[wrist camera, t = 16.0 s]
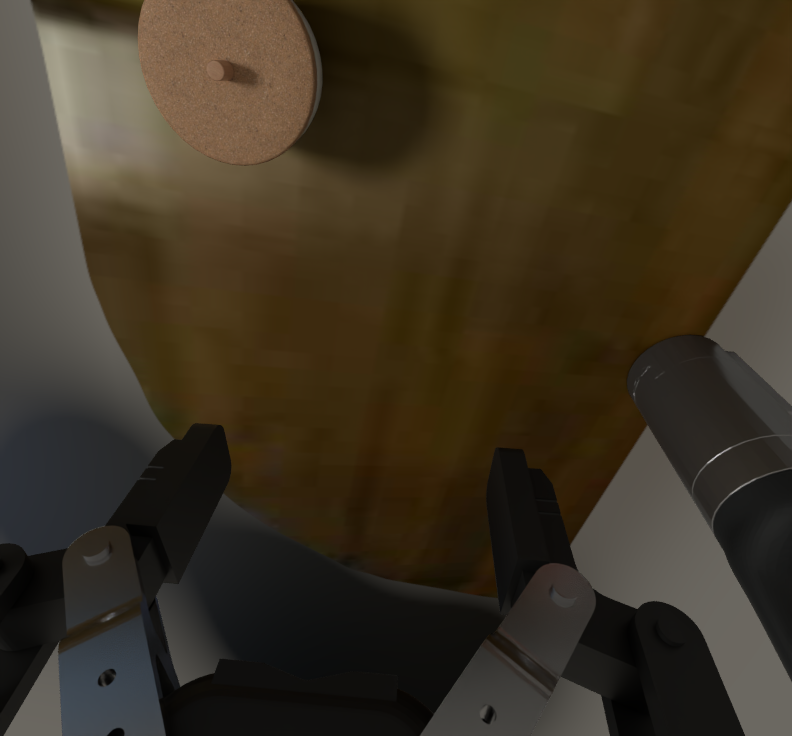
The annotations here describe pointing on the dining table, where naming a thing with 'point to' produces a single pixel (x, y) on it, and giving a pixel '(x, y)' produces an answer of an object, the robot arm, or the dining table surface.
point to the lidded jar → (232, 74)
